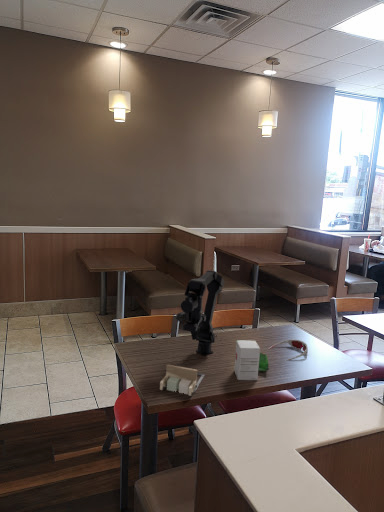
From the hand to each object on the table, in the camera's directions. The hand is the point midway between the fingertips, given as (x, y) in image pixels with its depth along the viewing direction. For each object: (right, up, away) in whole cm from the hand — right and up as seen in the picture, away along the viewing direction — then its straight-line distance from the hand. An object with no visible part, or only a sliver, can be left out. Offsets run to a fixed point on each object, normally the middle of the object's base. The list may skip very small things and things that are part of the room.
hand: (193, 339), depth 185 cm
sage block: (-9, -16, -22) cm, 28 cm away
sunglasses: (+50, -12, +21) cm, 56 cm away
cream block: (-4, -16, -23) cm, 28 cm away
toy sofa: (-6, -16, -23) cm, 29 cm away
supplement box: (+23, -15, -7) cm, 28 cm away
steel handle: (-4, -15, -14) cm, 21 cm away
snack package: (+31, -14, +3) cm, 34 cm away
